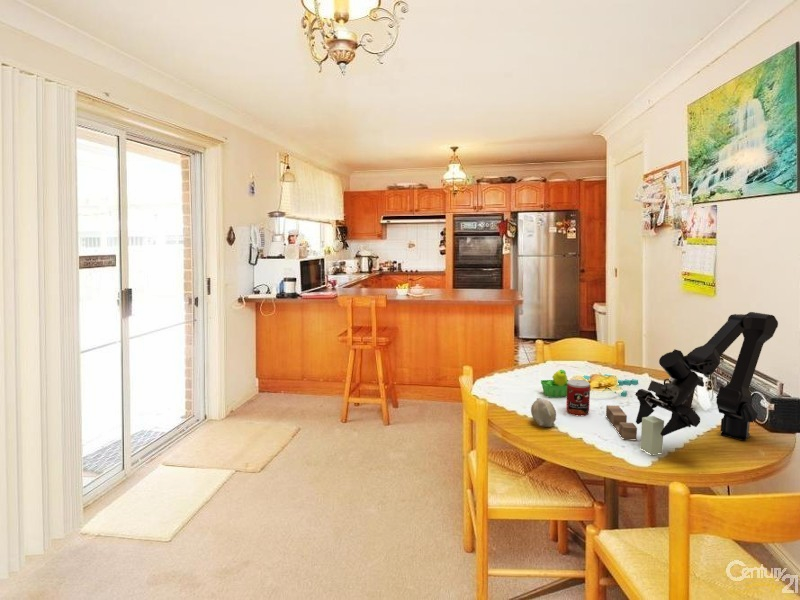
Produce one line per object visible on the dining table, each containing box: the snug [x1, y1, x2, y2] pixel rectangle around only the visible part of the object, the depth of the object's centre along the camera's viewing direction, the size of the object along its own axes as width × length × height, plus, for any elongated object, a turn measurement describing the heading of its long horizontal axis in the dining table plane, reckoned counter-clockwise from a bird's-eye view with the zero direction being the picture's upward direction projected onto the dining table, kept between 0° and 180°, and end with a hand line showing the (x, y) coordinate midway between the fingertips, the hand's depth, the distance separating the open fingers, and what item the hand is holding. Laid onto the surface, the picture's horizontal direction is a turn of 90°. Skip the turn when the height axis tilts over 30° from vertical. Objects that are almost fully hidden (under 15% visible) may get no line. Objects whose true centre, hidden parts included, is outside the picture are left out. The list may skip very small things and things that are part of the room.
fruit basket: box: [540, 369, 570, 398], centre depth 188 cm, size 11×9×11 cm
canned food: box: [566, 378, 591, 417], centre depth 170 cm, size 8×8×11 cm
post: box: [640, 415, 665, 456], centre depth 139 cm, size 4×4×10 cm
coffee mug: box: [663, 377, 696, 408], centre depth 174 cm, size 12×9×10 cm
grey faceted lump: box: [530, 397, 557, 428], centre depth 160 cm, size 9×8×10 cm
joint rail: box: [605, 405, 638, 440], centre depth 156 cm, size 19×4×4 cm, turn 171°
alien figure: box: [582, 374, 639, 398], centre depth 199 cm, size 20×2×20 cm
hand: (648, 429), depth 138 cm, fingers open, 9 cm apart
